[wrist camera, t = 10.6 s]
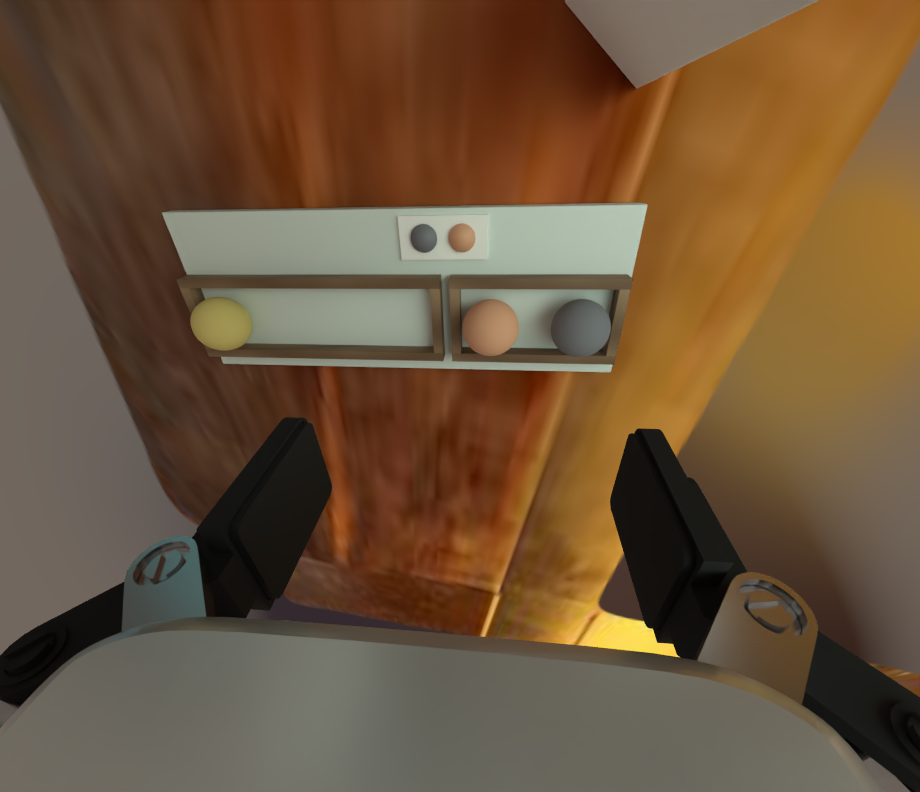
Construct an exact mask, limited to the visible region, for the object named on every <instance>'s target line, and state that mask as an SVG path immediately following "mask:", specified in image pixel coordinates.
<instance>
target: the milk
mask: <svg viewBox="0 0 920 792" xmlns="http://www.w3.org/2000/svg"><path fill="white" fill-rule="evenodd" d="M817 1H819V0H565V3H566V4H567V6H568V7H569V8H570V9H571V10H572V12H573V13H574V14H575V15H576V16H577V18H578V19H579V20H580V21H581V23H582V24H583V25H584V26H585V27H586V29H587V30H588V31H589V32H590V33H591V35H592V36H593V37H594V38H595V39H596V41H597V42H598V43H599V44H600V46H601V47H602V48H603V49H604V50H605V52H606V53H607V54H608V55H609V56H610V58H611V59H612V60H613V61H614V62H615V64H616V65H617V66H618V67H619V68H620V70H621V71H622V72H623V73H624V75H625V76H626V77H627V78H628V79H629V81H630V82H631V83H632V84H633V85H634V87H635V88H639V87H641V86H643V85H645V84H647V83H650V82H652V81H654V80H656V79H658V78H660V77H662V76H664V75H666V74H668V73H670V72H672V71H674V70H676V69H678V68H681V67H683V66H685V65H687V64H689V63H691V62H693V61H695V60H697V59H699V58H701V57H703V56H705V55H707V54H709V53H711V52H714V51H716V50H718V49H720V48H722V47H724V46H726V45H728V44H730V43H732V42H734V41H736V40H738V39H740V38H742V37H744V36H747V35H749V34H751V33H753V32H755V31H757V30H759V29H761V28H763V27H765V26H767V25H769V24H771V23H773V22H775V21H778V20H780V19H782V18H784V17H786V16H788V15H790V14H792V13H794V12H796V11H798V10H800V9H802V8H804V7H806V6H808V5H811V4H813V3H815V2H817Z"/></svg>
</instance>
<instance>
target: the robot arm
mask: <svg viewBox="0 0 920 792" xmlns="http://www.w3.org/2000/svg"><path fill="white" fill-rule="evenodd" d="M331 490H332V484H331V481H330V477H329V474H328V471H327V468H326V465H325V462H324V459H323V456H322V453H321V450H320V447H319V443H318V440H317V437H316V434H315V431H314V428H313V425H312V424H311V423H308V422H307V420H306V419H305V418H289V417H286V418H284V419H282V420H281V422H280V423H279V424H278V426H277V427H276V428H275V429H274V431H273V432H272V433H271V434H270V436H269V437H268V438H267V440H266V441H265V442H264V443H263V445H262V446H261V447H260V449H259V450H258V451H257V452H256V454H255V455H254V456H253V458H252V459H251V460H250V461H249V463H248V464H247V465H246V466H245V468H244V469H243V470H242V472H241V473H240V474H239V475H238V477H237V478H236V479H235V481H234V482H233V483H232V484H231V486H230V487H229V488H228V489H227V491H226V492H225V493H224V495H223V496H222V497H221V498H220V500H219V501H218V502H217V504H216V505H215V506H214V507H213V509H212V510H211V511H210V513H209V514H208V515H207V516H206V518H205V519H204V520H203V521H202V523H201V524H200V525H199V527H198V528H197V532H196V533H195V535H194V536H193V537H192V538H190V537H187V536H176V537H170V538H168V539H165V540H162V541H160V542H158V543H156V544H154V545H152V546H151V547H149V548H148V549H147V550H145V551H144V552H143V553H141V554H140V555H139V556H138V557H137V558H136V559H135V560H134V561H133V563H132V564H131V566H130V567H129V569H128V570H127V573H126V576H125V581H124V582H123V583H121V584H119V585H117V586H115V587H113V588H111V589H109V590H107V591H105V592H104V593H102V594H100V595H98V596H96V597H94V598H92V599H90V600H88V601H86V602H84V603H82V604H80V605H78V606H76V607H74V608H72V609H71V610H69V611H67V612H65V613H63V614H61V615H59V616H57V617H55V618H53V619H51V620H49V621H47V622H45V623H44V624H42V625H40V626H38V627H36V628H34V629H33V630H31V631H30V632H28V633H26V634H24V635H23V636H22V637H20V638H19V639H18V640H17V641H15V642H14V643H13V644H12V645H10V646H9V647H8V648H7V649H6V650H5V651H4V652H3V654H1V655H0V792H920V697H918V696H917V695H915V694H914V693H912V692H911V691H909V690H908V689H906V688H904V687H903V686H901V685H900V684H898V683H897V682H895V681H894V680H892V679H891V678H889V677H888V676H886V675H885V674H883V673H882V672H880V671H878V670H877V669H875V668H874V667H872V666H871V665H869V664H868V663H866V662H865V661H863V660H861V659H860V658H859V657H857V656H855V655H854V654H852V653H851V652H849V651H848V650H846V649H845V648H843V647H842V646H840V645H838V644H837V643H836V642H834V641H833V640H831V639H829V638H828V637H826V636H825V635H823V634H822V633H820V632H819V631H817V622H816V619H815V617H814V615H813V612H812V611H811V609H810V608H809V606H808V605H807V604H806V603H805V602H804V600H803V599H802V598H801V597H800V596H799V595H798V594H797V593H796V592H795V591H793V590H792V589H790V588H789V587H788V586H786V585H785V584H783V583H782V582H780V581H778V580H776V579H774V578H772V577H769V576H767V575H763V574H759V573H755V572H754V573H748V572H747V570H746V569H745V567H744V565H743V564H742V562H741V560H740V558H739V557H738V555H737V553H736V551H735V549H734V548H733V546H732V544H731V542H730V541H729V539H728V537H727V535H726V533H725V532H724V530H723V528H722V526H721V525H720V523H719V521H718V519H717V518H716V516H715V514H714V513H713V511H712V509H711V507H710V505H709V503H708V502H707V500H706V498H705V496H704V495H703V493H702V491H701V489H700V488H699V486H698V484H697V483H696V482H695V480H693V479H692V478H687V476H686V474H685V473H684V471H683V469H682V467H681V465H680V464H679V462H678V460H677V458H676V456H675V454H674V452H673V451H672V449H671V447H670V445H669V443H668V442H667V440H666V438H665V436H664V434H663V432H662V431H661V430H659V429H637V430H636V431H635V434H632V433H631V434H629V436H628V439H627V442H626V446H625V449H624V453H623V456H622V459H621V463H620V466H619V470H618V473H617V477H616V480H615V484H614V487H613V491H612V494H611V499H610V505H611V511H612V514H613V517H614V521H615V524H616V528H617V531H618V534H619V538H620V541H621V545H622V548H623V551H624V555H625V558H626V561H627V565H628V568H629V571H630V575H631V578H632V582H633V585H634V588H635V592H636V595H637V599H638V602H639V605H640V609H641V612H642V616H643V619H644V622H645V624H646V626H647V627H648V628H653V630H654V634H655V637H656V640H657V643H669V644H674V647H675V650H676V653H677V655H678V656H679V657H681V658H679V657H673V656H666V655H660V654H654V653H645V652H636V651H626V650H617V649H608V648H598V647H589V646H578V645H567V644H556V643H545V642H534V641H523V640H512V639H500V638H489V637H478V636H466V635H454V634H443V633H431V632H419V631H407V630H395V629H383V628H382V629H381V628H371V627H359V626H345V625H333V624H320V623H308V622H295V621H283V620H267V619H250V618H246V617H247V615H248V613H249V611H250V609H257V610H270V608H271V607H272V605H273V602H274V601H275V599H277V598H280V596H281V595H282V594H283V592H284V590H285V588H286V586H287V584H288V582H289V580H290V578H291V576H292V574H293V571H294V569H295V567H296V565H297V563H298V561H299V559H300V557H301V555H302V553H303V551H304V549H305V546H306V544H307V542H308V540H309V538H310V536H311V534H312V532H313V530H314V528H315V526H316V524H317V522H318V519H319V517H320V515H321V513H322V511H323V509H324V507H325V505H326V503H327V501H328V499H329V497H330V494H331Z"/></svg>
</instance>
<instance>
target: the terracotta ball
mask: <svg viewBox="0 0 920 792" xmlns="http://www.w3.org/2000/svg"><path fill="white" fill-rule="evenodd" d="M518 332H519V323H518V319H517V316H516V314H515V312H514V311H513V309H512V308H511V307H510V306H509V305H507V304H506V303H504V302H502V301H499V300H495V299H487V300H483V301H480V302H478V303H476V304H475V305H474V306H472V307H471V308H470V309H469V311H468V312H467V314H466V316H465V318H464V321H463V335H464V338H465V341H466V342H467V344H468V345H469V347H470V348H471V349H472V350H474V351H475V352H477V353H479V354H481V355H484V356H496V355H500V354H502V353H504V352H506V351H507V350H509V349H510V348H511V347H512V345H513V344H514V343H515V341H516V339H517V336H518Z"/></svg>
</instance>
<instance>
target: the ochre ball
mask: <svg viewBox="0 0 920 792" xmlns="http://www.w3.org/2000/svg"><path fill="white" fill-rule="evenodd" d="M190 323H191V328H192V331H193V333H194V335H195V336H196V338H197V339H198V340H199V341H200V342H201V343H203V344H204V345H206V346H208V347H210V348H212V349H216V350H222V351H228V350H233V349H236V348H239V347H241V346H242V345H244V344H245V343H246V342H247V341H248V339H249V338H250V336H251V333H252V328H253V324H252V320H251V317H250V315H249V313H248V312H247V310H246V309H245V308H244V307H243V306H242V305H241V304H239V303H238V302H236V301H234V300H231V299H228V298H224V297H213V298H209V299H206V300H204V301H202V302H200V303H199V304H198V305H197V306H196V307H195V308H194V310H193V312H192V314H191V320H190Z"/></svg>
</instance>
